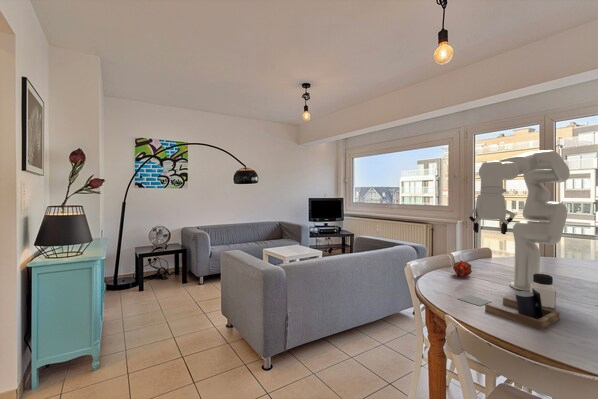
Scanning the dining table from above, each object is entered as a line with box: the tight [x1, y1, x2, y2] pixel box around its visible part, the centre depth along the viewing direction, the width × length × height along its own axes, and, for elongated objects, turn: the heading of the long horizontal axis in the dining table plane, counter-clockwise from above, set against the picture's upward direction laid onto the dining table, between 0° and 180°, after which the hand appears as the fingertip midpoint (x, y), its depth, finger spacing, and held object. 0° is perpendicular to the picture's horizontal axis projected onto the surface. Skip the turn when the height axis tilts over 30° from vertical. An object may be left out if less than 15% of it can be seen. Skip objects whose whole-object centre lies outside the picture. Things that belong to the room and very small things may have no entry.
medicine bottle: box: [530, 272, 557, 309], centre depth 119 cm, size 7×7×12 cm
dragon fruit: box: [453, 260, 473, 278], centre depth 158 cm, size 8×8×12 cm
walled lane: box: [484, 296, 561, 330], centre depth 108 cm, size 15×18×2 cm
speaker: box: [515, 288, 544, 319], centre depth 106 cm, size 8×6×10 cm
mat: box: [457, 294, 492, 307], centre depth 123 cm, size 9×9×1 cm
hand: (489, 233), depth 121 cm, fingers open, 9 cm apart
